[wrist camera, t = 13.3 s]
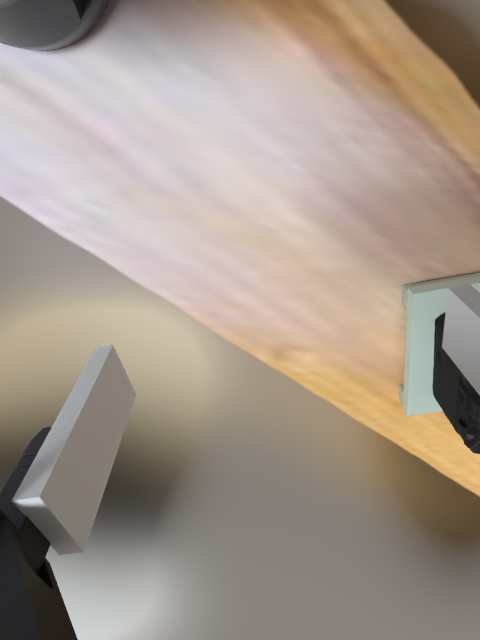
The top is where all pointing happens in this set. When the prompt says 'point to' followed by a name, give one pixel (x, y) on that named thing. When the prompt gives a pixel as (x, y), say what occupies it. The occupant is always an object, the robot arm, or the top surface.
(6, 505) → the robot arm
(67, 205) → the top surface
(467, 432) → the camera
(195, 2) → the top surface
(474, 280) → the stand
